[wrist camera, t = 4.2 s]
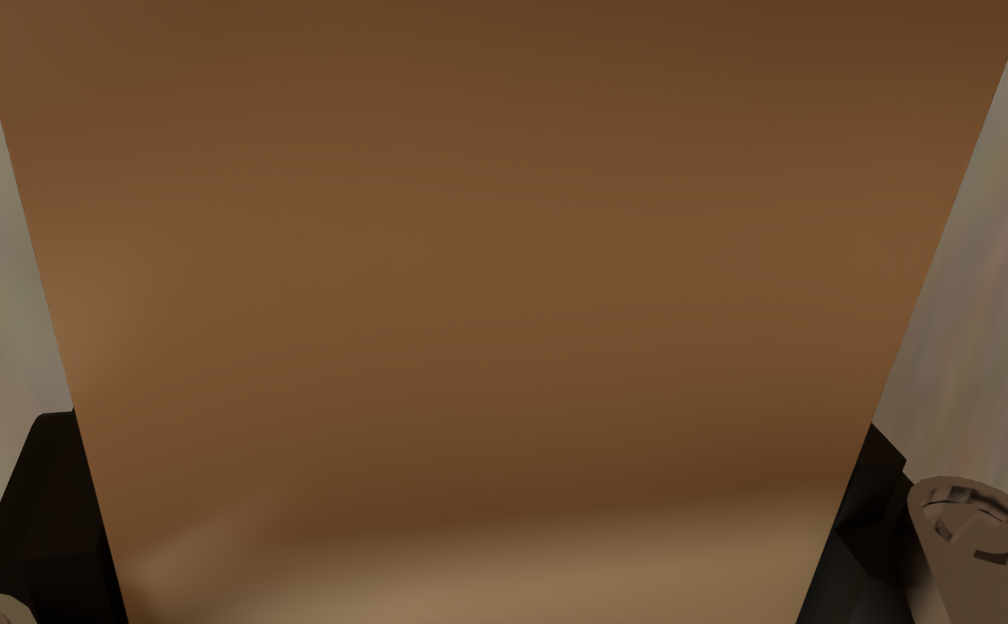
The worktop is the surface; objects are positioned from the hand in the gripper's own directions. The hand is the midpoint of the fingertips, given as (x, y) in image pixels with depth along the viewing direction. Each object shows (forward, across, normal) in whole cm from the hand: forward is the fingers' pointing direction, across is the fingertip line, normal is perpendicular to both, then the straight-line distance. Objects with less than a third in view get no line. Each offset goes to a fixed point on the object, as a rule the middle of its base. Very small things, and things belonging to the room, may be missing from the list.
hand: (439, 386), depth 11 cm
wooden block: (-1, 0, 0) cm, 1 cm away
